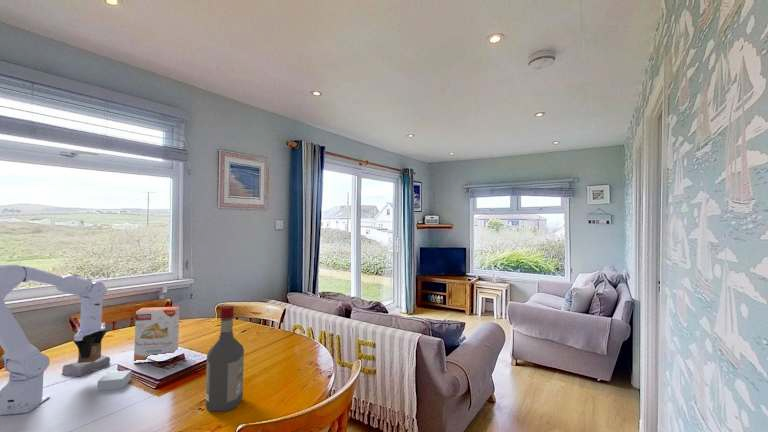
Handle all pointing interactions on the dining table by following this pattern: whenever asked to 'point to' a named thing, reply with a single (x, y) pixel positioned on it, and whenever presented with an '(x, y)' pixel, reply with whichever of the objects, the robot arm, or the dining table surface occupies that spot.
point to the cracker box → (156, 331)
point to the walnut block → (92, 354)
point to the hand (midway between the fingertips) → (89, 354)
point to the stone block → (85, 366)
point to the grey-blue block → (114, 380)
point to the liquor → (224, 368)
